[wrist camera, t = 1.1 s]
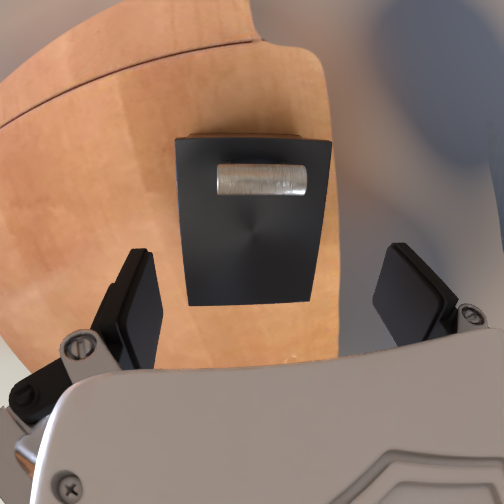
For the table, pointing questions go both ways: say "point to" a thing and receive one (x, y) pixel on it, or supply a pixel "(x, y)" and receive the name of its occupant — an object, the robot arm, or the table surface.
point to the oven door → (250, 217)
